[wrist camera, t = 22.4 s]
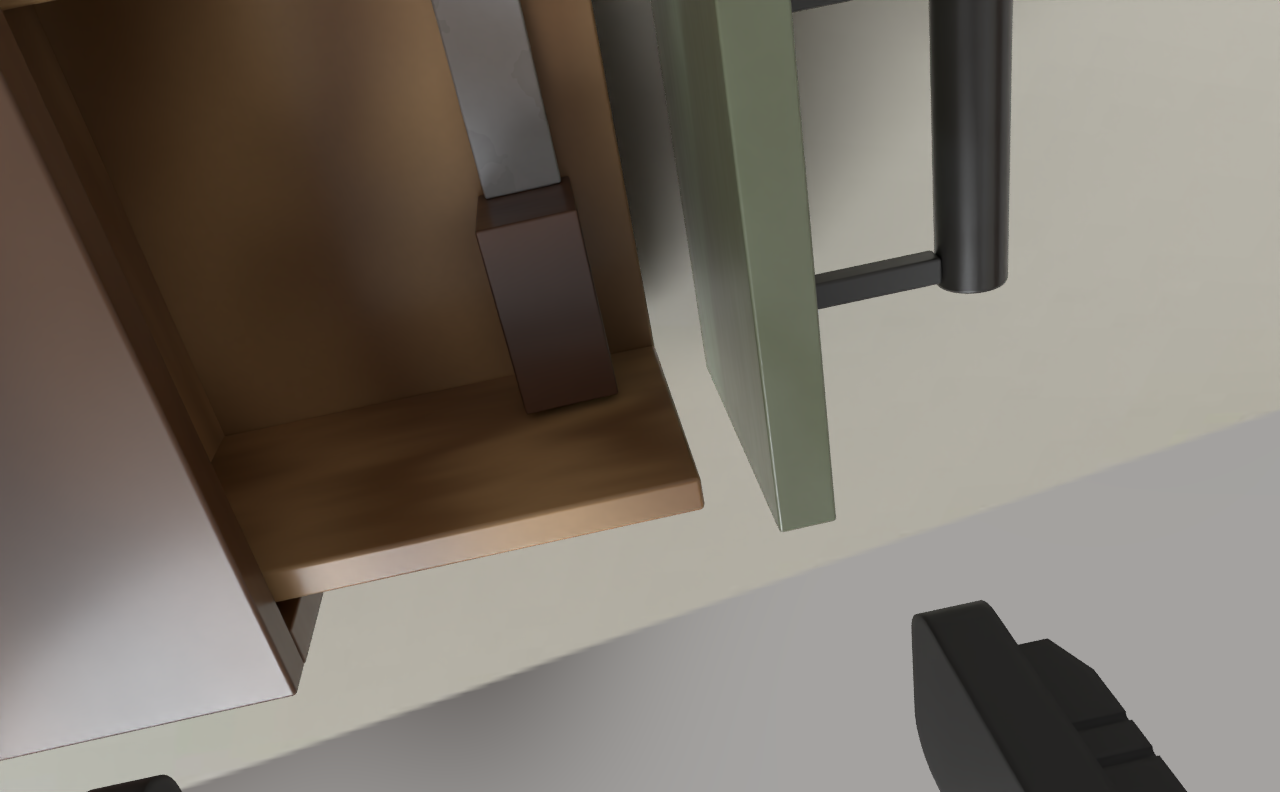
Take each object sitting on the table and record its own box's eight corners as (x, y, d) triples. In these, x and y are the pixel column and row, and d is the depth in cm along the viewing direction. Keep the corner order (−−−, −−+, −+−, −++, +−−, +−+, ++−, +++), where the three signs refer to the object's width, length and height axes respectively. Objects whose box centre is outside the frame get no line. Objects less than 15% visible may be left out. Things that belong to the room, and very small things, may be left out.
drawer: (902, -255, 20) (1115, -340, 13) (920, 321, 27) (1069, 470, 20) (-20, -79, 19) (-311, -68, 12) (229, 469, 26) (128, 677, 19)
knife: (607, 344, 24) (619, 394, 22) (524, 363, 24) (526, 415, 22) (516, -57, 20) (519, -51, 17) (413, -35, 20) (400, -26, 17)
